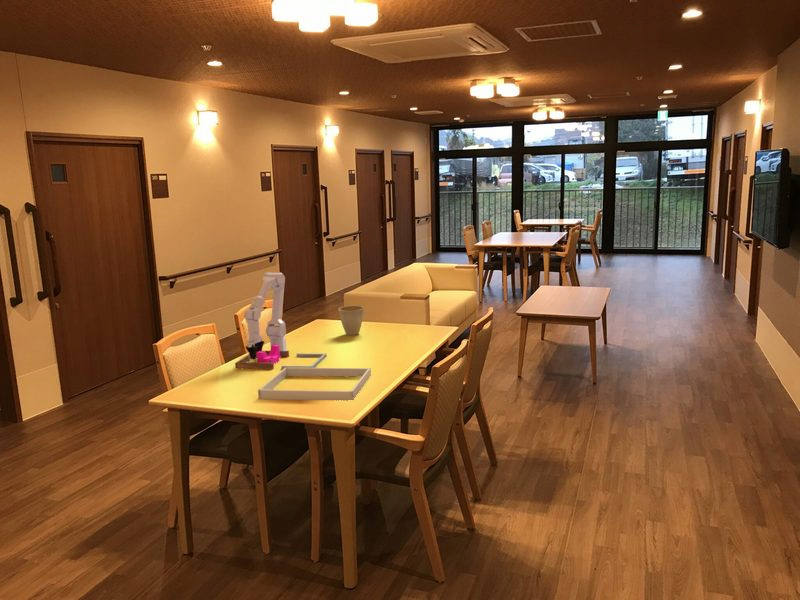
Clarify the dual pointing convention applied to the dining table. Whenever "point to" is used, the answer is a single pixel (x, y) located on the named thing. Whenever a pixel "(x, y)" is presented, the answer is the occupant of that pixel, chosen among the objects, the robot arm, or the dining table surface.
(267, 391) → the frame
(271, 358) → the toy block
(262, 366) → the walnut stall
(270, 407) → the dining table surface
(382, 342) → the dining table surface
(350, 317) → the plant pot
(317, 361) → the frame
